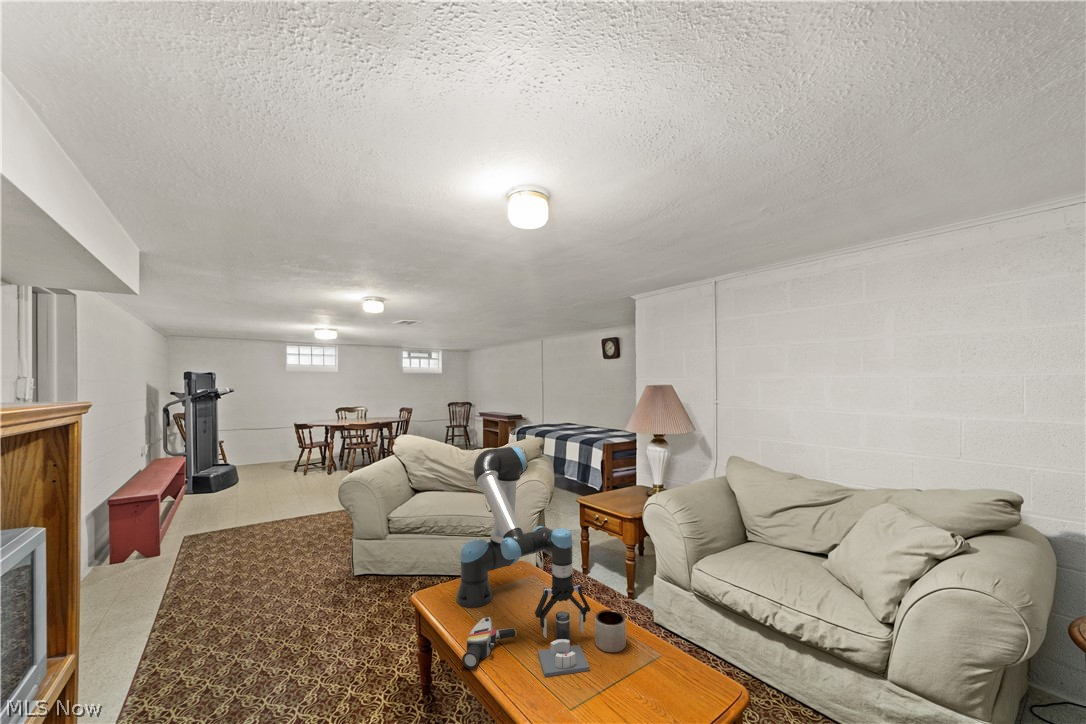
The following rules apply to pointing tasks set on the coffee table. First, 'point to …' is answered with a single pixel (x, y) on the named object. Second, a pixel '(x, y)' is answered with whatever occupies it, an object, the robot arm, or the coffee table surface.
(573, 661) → the mount
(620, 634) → the planter
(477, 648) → the film camera
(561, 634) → the lens
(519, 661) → the coffee table surface
